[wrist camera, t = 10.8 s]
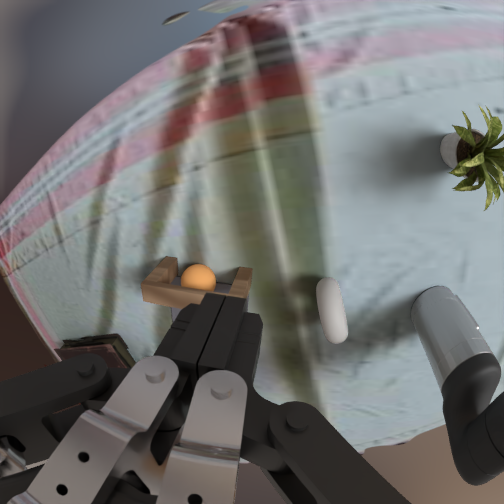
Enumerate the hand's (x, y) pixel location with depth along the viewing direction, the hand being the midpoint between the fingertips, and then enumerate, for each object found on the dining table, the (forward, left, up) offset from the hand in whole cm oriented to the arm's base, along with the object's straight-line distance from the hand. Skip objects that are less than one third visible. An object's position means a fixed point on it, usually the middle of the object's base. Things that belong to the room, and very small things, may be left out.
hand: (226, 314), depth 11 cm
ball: (+11, +17, -28) cm, 34 cm away
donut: (-10, +17, -31) cm, 37 cm away
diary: (+39, +49, -32) cm, 70 cm away
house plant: (-25, -10, -31) cm, 41 cm away
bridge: (+10, +16, -31) cm, 36 cm away
